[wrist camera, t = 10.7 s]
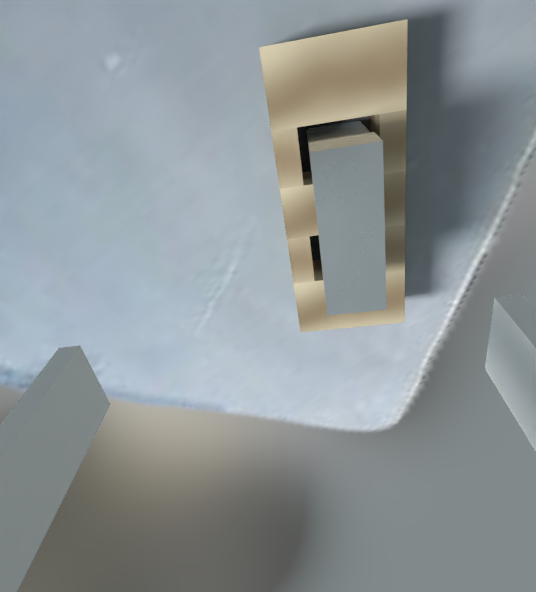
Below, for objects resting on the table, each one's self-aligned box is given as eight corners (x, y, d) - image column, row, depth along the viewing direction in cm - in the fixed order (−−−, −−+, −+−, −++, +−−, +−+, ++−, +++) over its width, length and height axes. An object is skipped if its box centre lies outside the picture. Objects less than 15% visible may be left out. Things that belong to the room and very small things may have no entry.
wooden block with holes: (263, 48, 29) (259, 47, 25) (393, 23, 28) (407, 19, 24) (300, 308, 40) (300, 332, 36) (394, 298, 39) (404, 322, 35)
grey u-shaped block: (306, 125, 31) (309, 152, 23) (358, 116, 31) (383, 140, 22) (320, 254, 37) (327, 315, 28) (365, 249, 36) (386, 309, 28)
